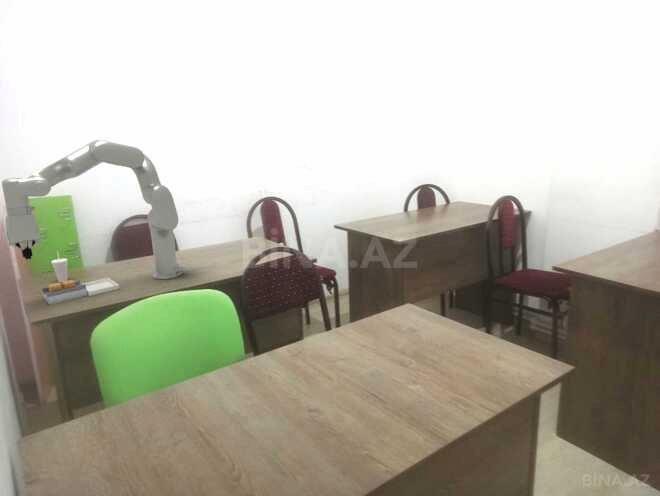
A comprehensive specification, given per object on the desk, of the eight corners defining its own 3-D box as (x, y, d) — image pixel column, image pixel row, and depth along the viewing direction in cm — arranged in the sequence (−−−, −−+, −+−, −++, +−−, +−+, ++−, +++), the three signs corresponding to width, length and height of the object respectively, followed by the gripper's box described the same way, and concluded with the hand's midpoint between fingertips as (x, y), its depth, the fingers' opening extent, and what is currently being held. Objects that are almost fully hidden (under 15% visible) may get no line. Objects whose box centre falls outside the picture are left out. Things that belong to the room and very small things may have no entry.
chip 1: (60, 289, 196) (59, 282, 195) (62, 291, 193) (61, 284, 192) (49, 291, 193) (48, 284, 192) (51, 294, 190) (50, 287, 189)
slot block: (80, 289, 204) (78, 279, 202) (87, 295, 196) (85, 285, 195) (43, 298, 195) (41, 287, 193) (49, 304, 187) (47, 293, 186)
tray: (108, 281, 213) (108, 277, 212) (119, 289, 203) (119, 284, 202) (79, 288, 205) (78, 284, 205) (89, 296, 195) (88, 291, 194)
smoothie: (54, 284, 212) (49, 253, 209) (55, 280, 218) (49, 250, 214) (71, 281, 215) (65, 251, 212) (71, 277, 221) (65, 248, 217)
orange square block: (73, 286, 199) (72, 279, 198) (76, 288, 196) (75, 281, 195) (63, 288, 196) (61, 281, 195) (65, 291, 193) (64, 284, 192)
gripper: (39, 207, 187) (47, 253, 192) (-7, 213, 178) (3, 260, 182) (43, 209, 182) (52, 256, 186) (-3, 215, 172) (7, 264, 177)
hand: (28, 258), depth 184 cm, fingers closed
